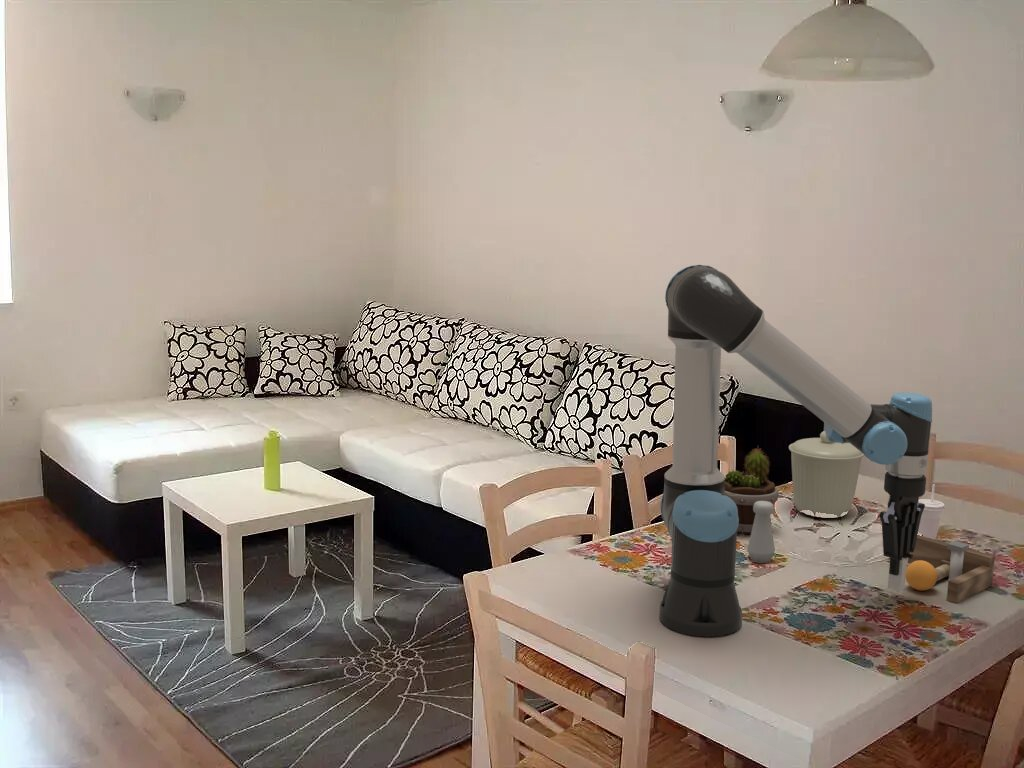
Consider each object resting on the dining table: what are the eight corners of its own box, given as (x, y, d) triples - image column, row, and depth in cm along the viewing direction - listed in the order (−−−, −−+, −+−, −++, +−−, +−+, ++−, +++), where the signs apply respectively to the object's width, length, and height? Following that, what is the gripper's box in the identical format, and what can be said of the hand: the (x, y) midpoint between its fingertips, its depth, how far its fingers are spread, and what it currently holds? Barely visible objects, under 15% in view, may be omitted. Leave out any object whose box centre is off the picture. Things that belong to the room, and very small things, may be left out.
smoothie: (943, 549, 236) (949, 489, 234) (914, 547, 237) (919, 487, 235) (937, 539, 243) (942, 481, 240) (908, 538, 244) (913, 479, 241)
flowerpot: (746, 544, 238) (751, 458, 234) (699, 526, 250) (703, 444, 247) (790, 533, 246) (795, 450, 242) (742, 516, 258) (747, 437, 255)
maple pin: (934, 574, 213) (956, 563, 218) (920, 570, 215) (942, 559, 221) (933, 588, 214) (955, 577, 219) (919, 584, 216) (941, 573, 221)
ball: (946, 568, 211) (936, 596, 211) (920, 557, 215) (910, 584, 216) (932, 565, 207) (921, 594, 207) (905, 554, 212) (895, 582, 212)
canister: (822, 528, 250) (828, 442, 246) (769, 508, 265) (774, 427, 261) (876, 518, 258) (882, 434, 254) (822, 499, 274) (827, 420, 270)
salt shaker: (772, 556, 230) (775, 499, 228) (776, 565, 225) (779, 506, 222) (745, 554, 231) (748, 497, 229) (748, 563, 225) (751, 505, 223)
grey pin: (957, 589, 213) (961, 547, 211) (943, 584, 215) (947, 543, 213) (965, 585, 214) (969, 544, 213) (950, 581, 217) (954, 540, 215)
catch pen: (956, 603, 205) (959, 574, 204) (873, 577, 219) (875, 549, 217) (994, 584, 215) (997, 556, 214) (912, 560, 229) (915, 534, 228)
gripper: (906, 483, 196) (895, 602, 200) (941, 471, 204) (930, 586, 208) (869, 474, 201) (860, 591, 206) (905, 464, 210) (895, 576, 214)
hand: (895, 588), depth 207 cm, fingers closed
